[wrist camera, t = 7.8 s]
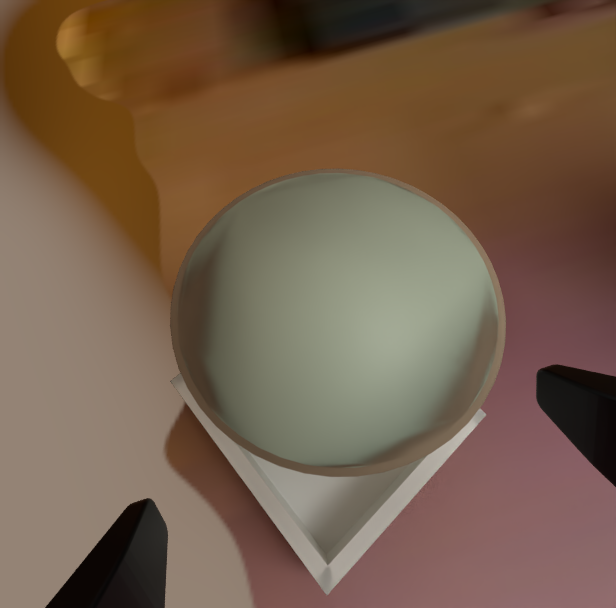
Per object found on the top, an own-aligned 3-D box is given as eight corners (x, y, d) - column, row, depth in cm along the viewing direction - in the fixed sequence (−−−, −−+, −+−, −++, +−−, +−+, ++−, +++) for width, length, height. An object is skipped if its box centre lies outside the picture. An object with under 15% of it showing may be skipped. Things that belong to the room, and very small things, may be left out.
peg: (341, 487, 15) (409, 572, 4) (248, 420, 16) (98, 341, 5) (396, 387, 17) (553, 250, 6) (307, 333, 18) (291, 131, 7)
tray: (325, 576, 14) (327, 595, 12) (187, 390, 17) (170, 381, 15) (465, 419, 16) (486, 414, 14) (321, 280, 20) (321, 260, 18)
